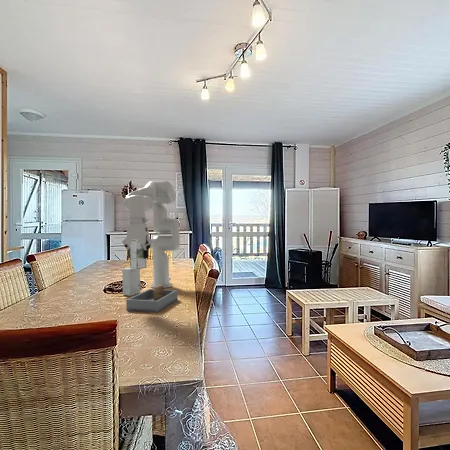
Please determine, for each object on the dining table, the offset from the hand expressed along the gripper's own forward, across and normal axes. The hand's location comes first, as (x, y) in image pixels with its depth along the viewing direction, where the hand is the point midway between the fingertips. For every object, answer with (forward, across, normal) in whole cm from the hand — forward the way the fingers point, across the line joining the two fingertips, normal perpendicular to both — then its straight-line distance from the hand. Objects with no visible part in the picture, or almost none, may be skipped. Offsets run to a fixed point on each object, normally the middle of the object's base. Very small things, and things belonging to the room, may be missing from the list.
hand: (138, 258), depth 153 cm
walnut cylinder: (+23, -4, -11) cm, 26 cm away
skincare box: (+24, +19, -23) cm, 38 cm away
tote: (+24, -4, -5) cm, 25 cm away
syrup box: (+5, 0, 0) cm, 5 cm away
